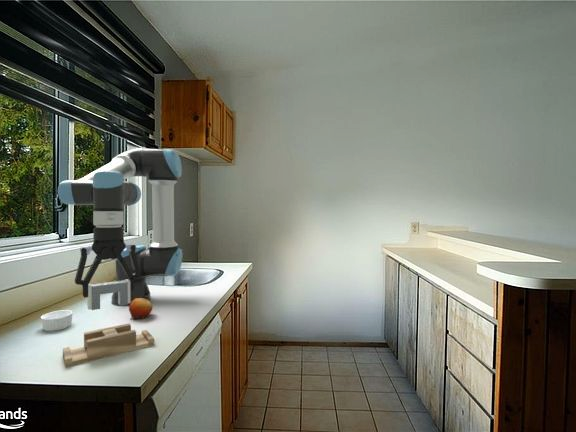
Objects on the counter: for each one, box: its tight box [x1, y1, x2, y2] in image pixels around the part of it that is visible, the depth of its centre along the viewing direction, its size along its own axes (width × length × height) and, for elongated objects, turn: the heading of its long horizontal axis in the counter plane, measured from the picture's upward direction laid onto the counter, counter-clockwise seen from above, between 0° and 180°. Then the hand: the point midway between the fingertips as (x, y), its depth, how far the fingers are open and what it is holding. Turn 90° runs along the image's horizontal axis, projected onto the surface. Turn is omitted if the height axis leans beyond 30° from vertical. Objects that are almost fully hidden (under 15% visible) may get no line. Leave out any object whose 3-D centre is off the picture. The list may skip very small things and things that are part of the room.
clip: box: [90, 280, 128, 311], centre depth 93 cm, size 3×9×6 cm, turn 128°
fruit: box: [128, 298, 154, 321], centre depth 120 cm, size 8×8×8 cm
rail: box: [62, 322, 155, 368], centre depth 94 cm, size 8×22×5 cm, turn 128°
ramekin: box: [40, 309, 73, 332], centre depth 111 cm, size 9×9×4 cm
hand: (109, 305), depth 93 cm, fingers closed on clip, 9 cm apart
